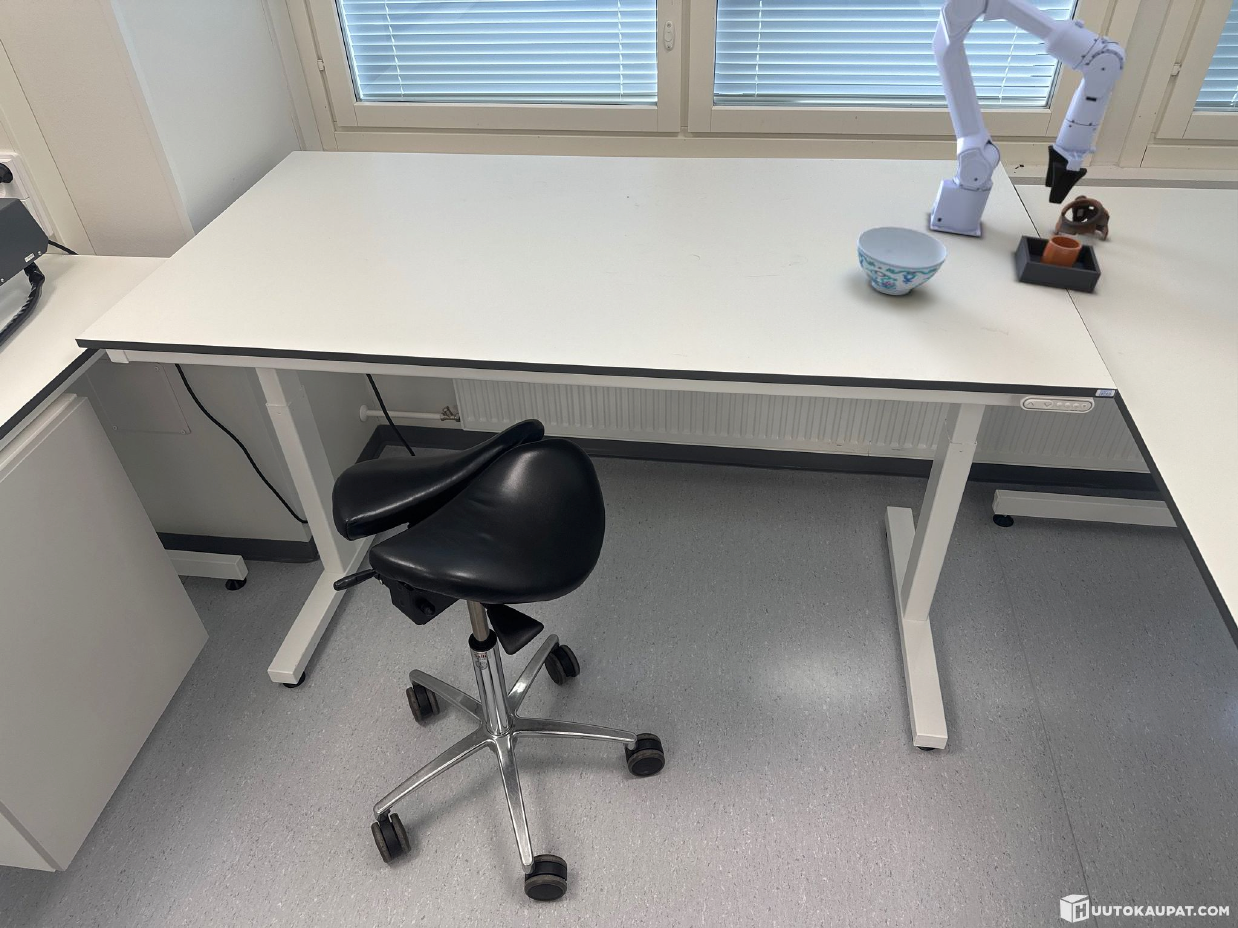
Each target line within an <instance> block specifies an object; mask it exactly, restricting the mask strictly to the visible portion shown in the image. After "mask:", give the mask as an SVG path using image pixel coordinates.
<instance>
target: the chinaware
mask: <svg viewBox="0 0 1238 928" xmlns="http://www.w3.org/2000/svg"><path fill="white" fill-rule="evenodd" d="M856 244H857V245H856V247H857V258H858V262H859V265H860V267H861V269H862V272H863V273H864V274H865V275H866V277H867V278H868V279H869V280H870V281H871V285H872V287H873V288H874V289H875V290H876V291H879V293H883V294H886V295H891V296H902V295H906V294H908V293H909V292H910V291H911V290H912V289H915V288H918V287H920V286H921V285H923V284H925V283H927V282H928V281H930V280H931V279H932V278H933V277H934V276H935V275H936V274H937V273H938V272H939V270H940V269H941V268H942V266H943V264H944V263H945V261H946V259H947V257H948V249H947V246H945V245H944V243H943V242H941V241H940V240H939V239H937V238H936V237H934V236H932V235H930V234H928V233H925V232H923V231H920V230H917V229H912V228H909V227H901V226H877V227H872V228H868V229H867V230H864V231H862V232H861V233H860V234H859V236H858V238H857V243H856Z"/></svg>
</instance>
